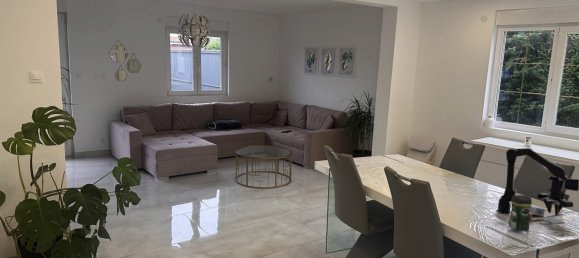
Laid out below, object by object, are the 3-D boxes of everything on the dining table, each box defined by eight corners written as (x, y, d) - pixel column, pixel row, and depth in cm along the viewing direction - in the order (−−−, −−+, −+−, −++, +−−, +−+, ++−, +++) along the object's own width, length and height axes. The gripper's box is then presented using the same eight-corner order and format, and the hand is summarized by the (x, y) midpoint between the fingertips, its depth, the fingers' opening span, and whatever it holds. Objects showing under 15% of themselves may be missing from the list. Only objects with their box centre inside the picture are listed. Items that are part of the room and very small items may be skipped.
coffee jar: (520, 225, 230) (524, 193, 228) (531, 231, 223) (535, 197, 220) (505, 226, 229) (508, 193, 226) (515, 231, 221) (519, 197, 218)
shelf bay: (530, 221, 238) (530, 214, 237) (518, 216, 246) (519, 209, 245) (543, 220, 240) (544, 212, 240) (531, 215, 248) (531, 208, 248)
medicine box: (536, 207, 245) (523, 203, 253) (534, 215, 245) (521, 210, 253) (545, 209, 248) (532, 204, 256) (543, 216, 248) (530, 211, 256)
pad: (552, 224, 235) (552, 223, 235) (540, 219, 242) (540, 218, 242) (564, 222, 237) (564, 222, 237) (552, 218, 245) (552, 217, 245)
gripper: (582, 192, 231) (578, 219, 233) (552, 183, 248) (549, 208, 251) (567, 192, 228) (563, 220, 230) (538, 183, 245) (535, 209, 247)
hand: (552, 214), depth 239 cm, fingers open, 4 cm apart
